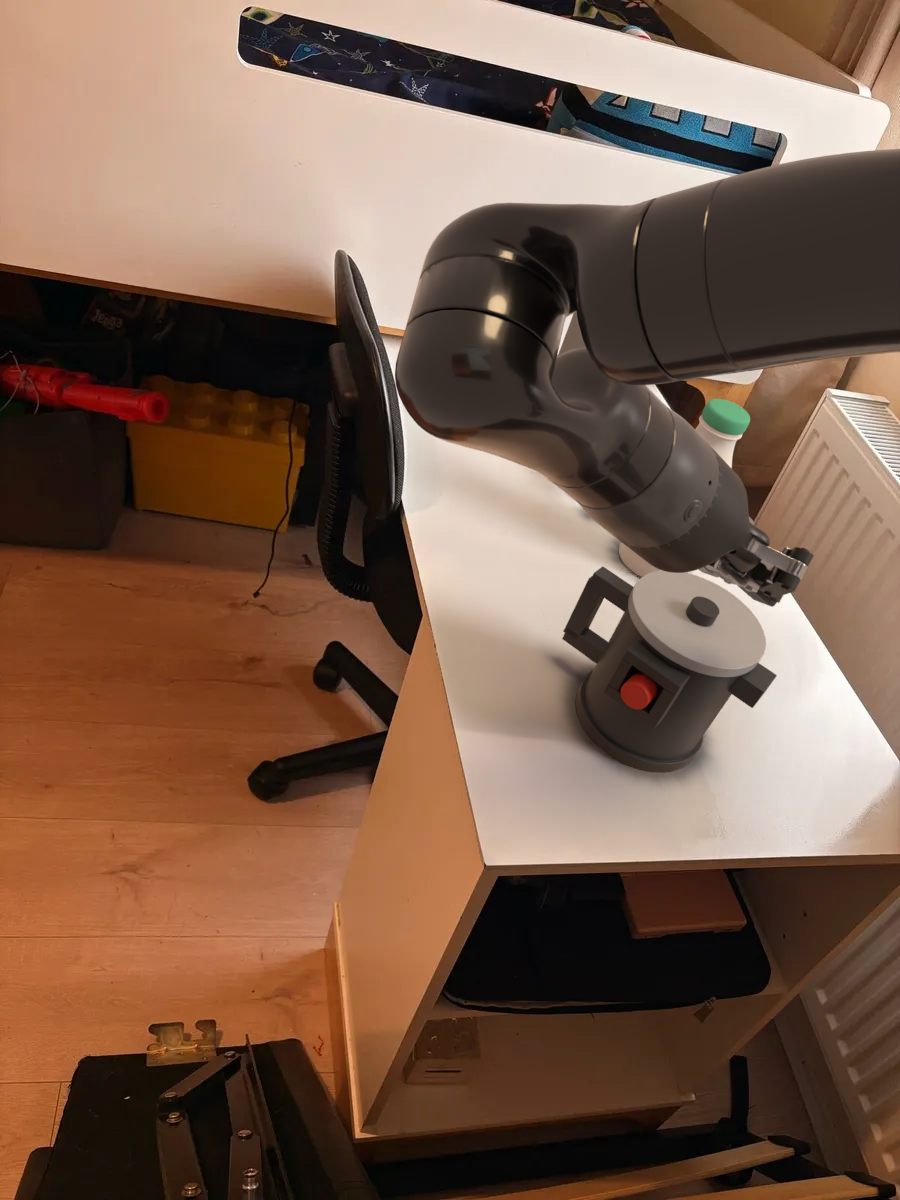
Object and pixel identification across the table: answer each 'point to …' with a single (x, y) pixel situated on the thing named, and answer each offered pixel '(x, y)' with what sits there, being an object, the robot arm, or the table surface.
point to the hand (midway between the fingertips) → (771, 591)
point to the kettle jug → (664, 664)
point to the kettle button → (638, 691)
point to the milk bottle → (721, 432)
